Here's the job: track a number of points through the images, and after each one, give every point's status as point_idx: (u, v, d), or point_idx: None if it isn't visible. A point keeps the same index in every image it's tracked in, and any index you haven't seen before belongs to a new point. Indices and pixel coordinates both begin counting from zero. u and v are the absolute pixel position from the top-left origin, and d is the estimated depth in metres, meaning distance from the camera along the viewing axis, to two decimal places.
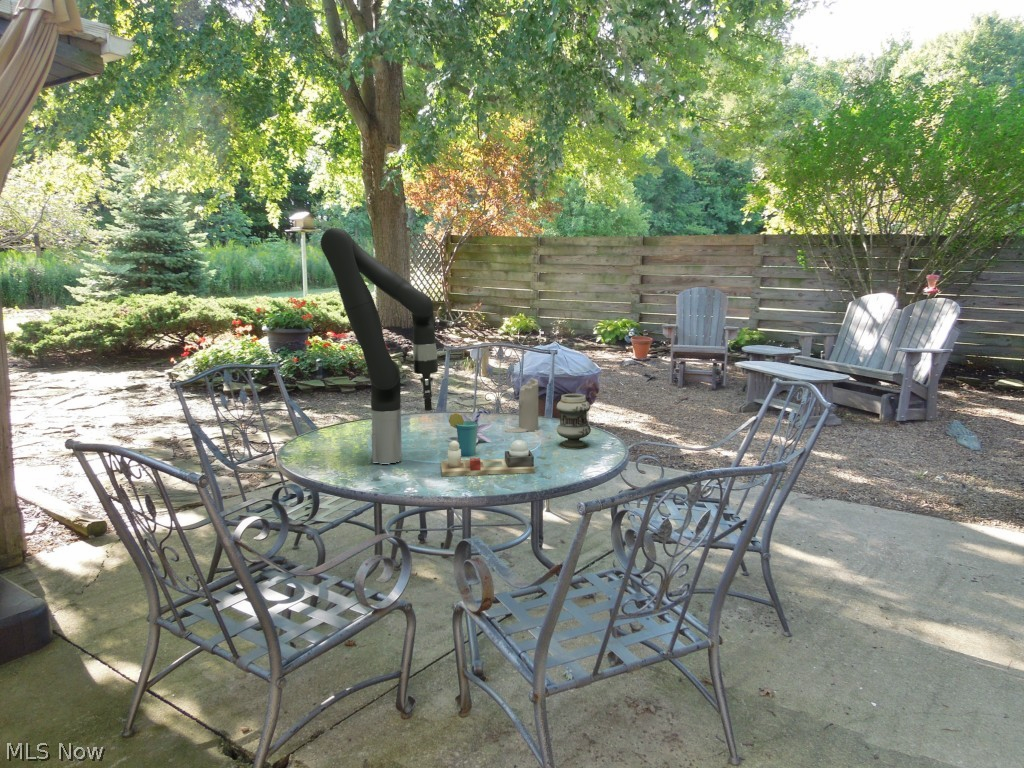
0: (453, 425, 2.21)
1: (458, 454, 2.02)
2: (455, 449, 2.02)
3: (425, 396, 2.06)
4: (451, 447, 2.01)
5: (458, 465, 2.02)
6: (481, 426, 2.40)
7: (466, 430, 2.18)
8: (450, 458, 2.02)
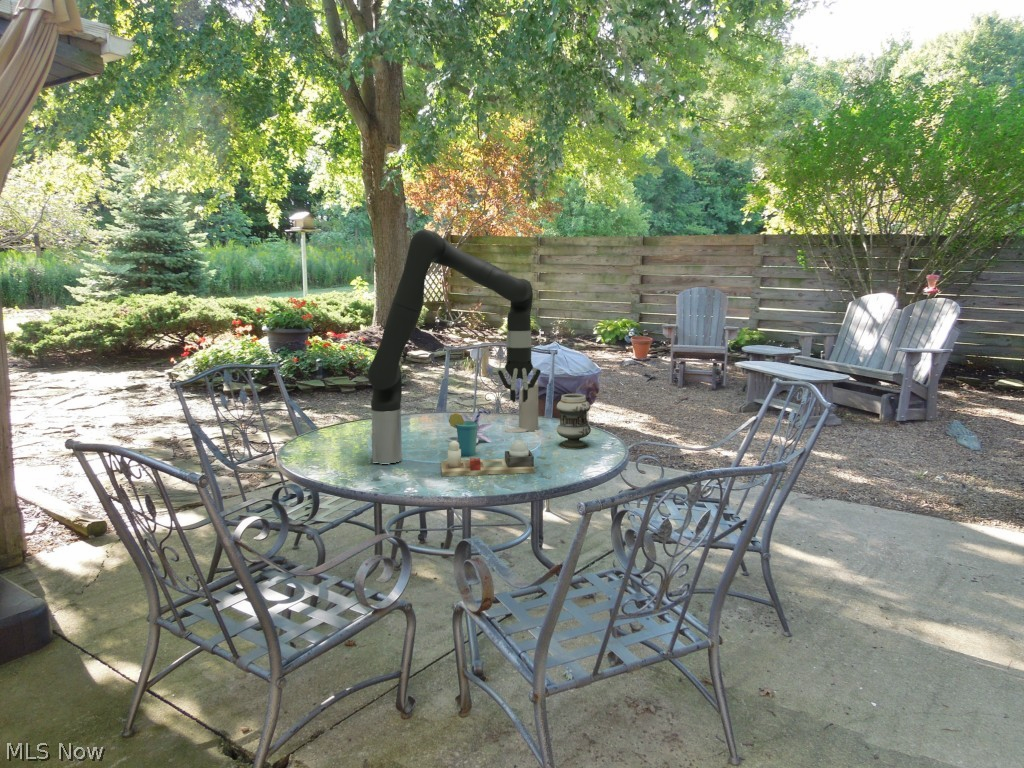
0: (453, 425, 2.21)
1: (458, 454, 2.02)
2: (455, 449, 2.02)
3: None
4: (451, 447, 2.01)
5: (458, 465, 2.02)
6: (481, 426, 2.40)
7: (466, 430, 2.18)
8: (450, 458, 2.02)
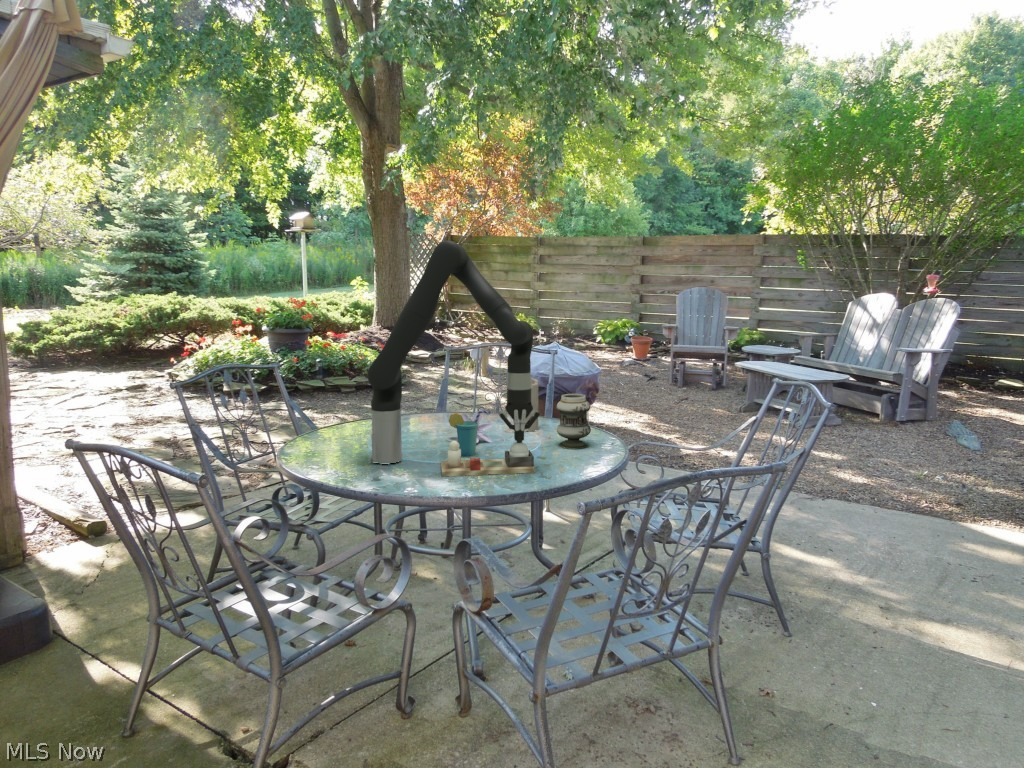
0: (453, 425, 2.21)
1: (458, 454, 2.02)
2: (455, 449, 2.02)
3: None
4: (451, 447, 2.01)
5: (458, 465, 2.02)
6: (482, 426, 2.40)
7: (465, 430, 2.18)
8: (450, 458, 2.02)
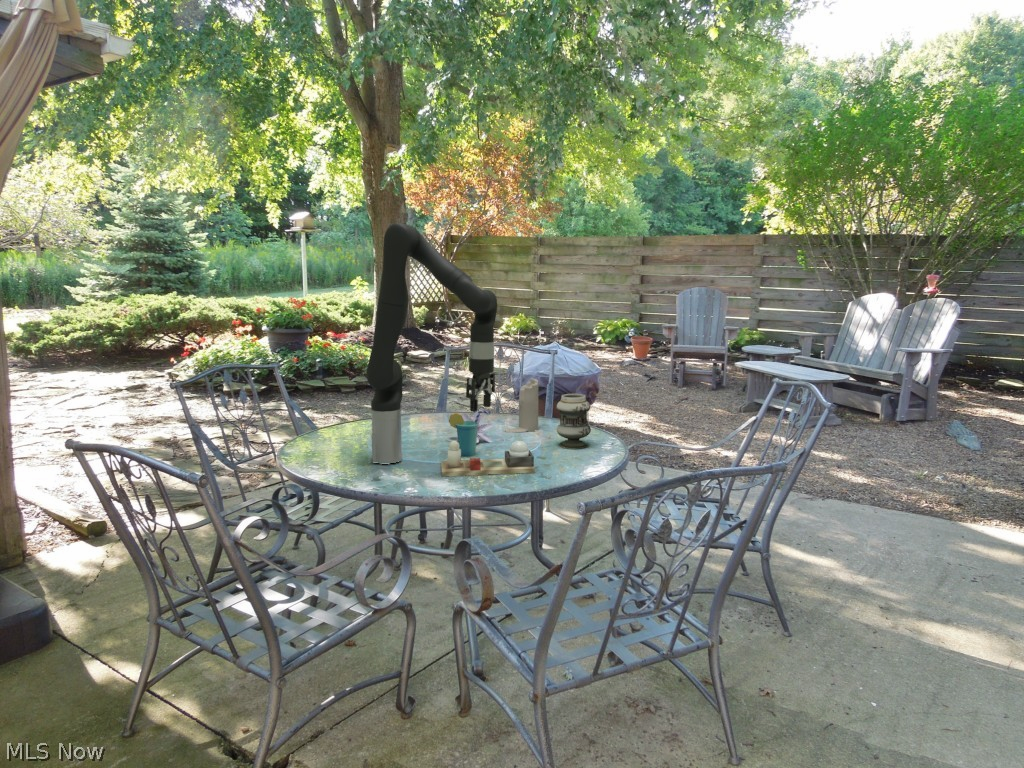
0: (453, 425, 2.21)
1: (458, 454, 2.02)
2: (455, 449, 2.02)
3: None
4: (451, 447, 2.01)
5: (458, 465, 2.02)
6: (482, 426, 2.40)
7: (466, 430, 2.18)
8: (450, 458, 2.02)
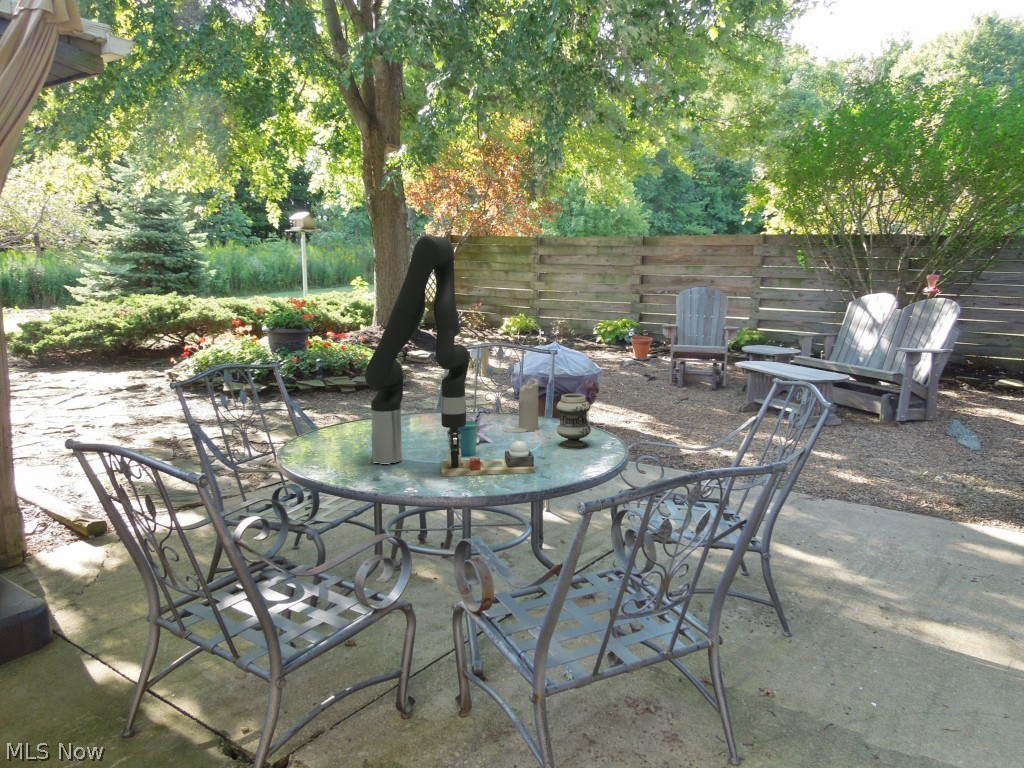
0: None
1: None
2: (455, 449, 2.02)
3: None
4: None
5: None
6: (483, 426, 2.40)
7: (466, 430, 2.18)
8: (450, 458, 2.02)
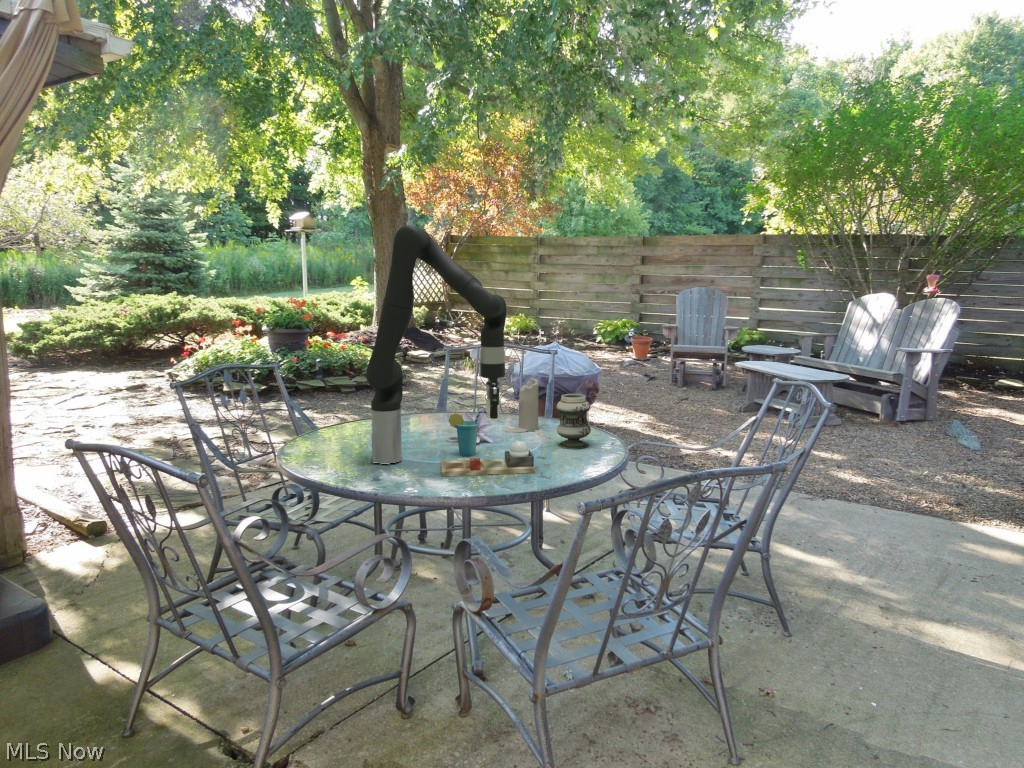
0: (453, 425, 2.21)
1: None
2: (494, 400, 2.01)
3: None
4: None
5: None
6: (483, 426, 2.40)
7: (466, 430, 2.18)
8: (489, 409, 2.01)
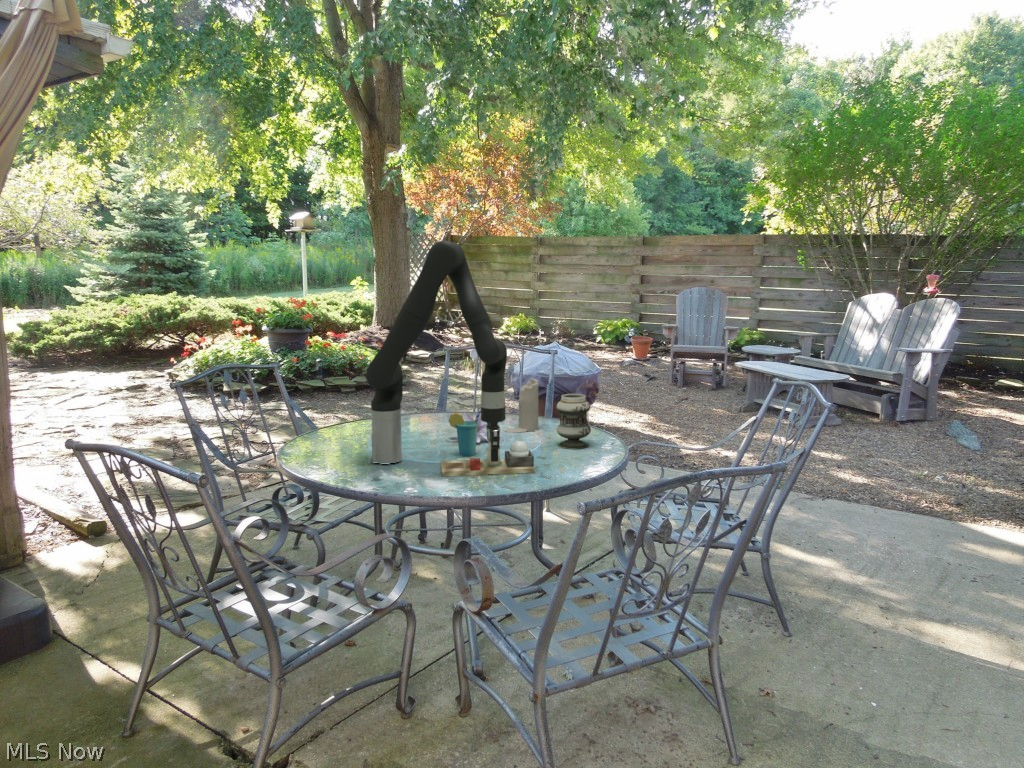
0: (453, 425, 2.21)
1: None
2: None
3: None
4: None
5: (497, 464, 2.04)
6: (484, 426, 2.40)
7: (465, 430, 2.18)
8: (489, 457, 2.03)
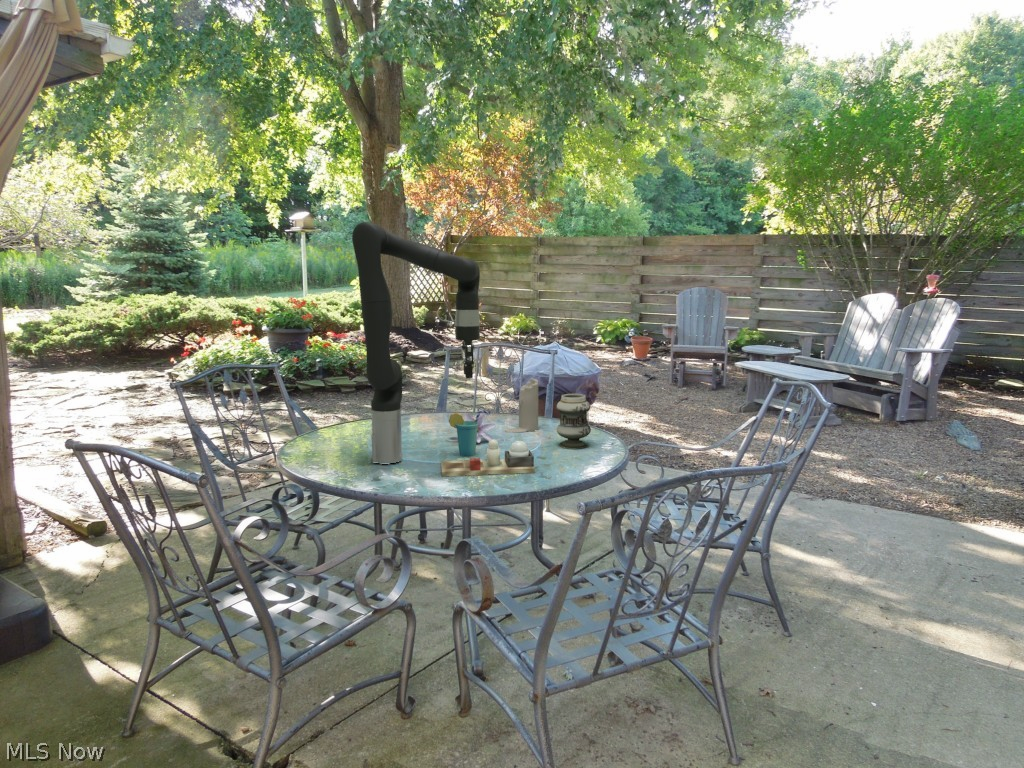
0: (453, 425, 2.21)
1: (497, 453, 2.03)
2: (494, 448, 2.03)
3: None
4: (490, 446, 2.03)
5: (497, 464, 2.04)
6: (485, 426, 2.40)
7: (465, 430, 2.18)
8: (489, 457, 2.03)
